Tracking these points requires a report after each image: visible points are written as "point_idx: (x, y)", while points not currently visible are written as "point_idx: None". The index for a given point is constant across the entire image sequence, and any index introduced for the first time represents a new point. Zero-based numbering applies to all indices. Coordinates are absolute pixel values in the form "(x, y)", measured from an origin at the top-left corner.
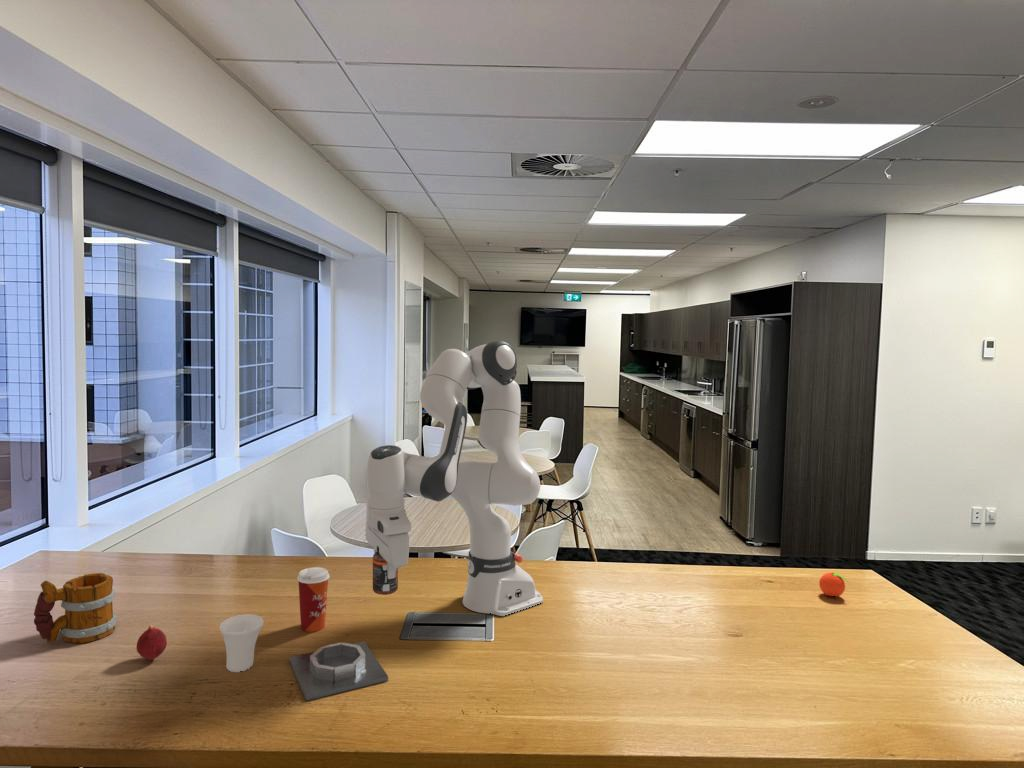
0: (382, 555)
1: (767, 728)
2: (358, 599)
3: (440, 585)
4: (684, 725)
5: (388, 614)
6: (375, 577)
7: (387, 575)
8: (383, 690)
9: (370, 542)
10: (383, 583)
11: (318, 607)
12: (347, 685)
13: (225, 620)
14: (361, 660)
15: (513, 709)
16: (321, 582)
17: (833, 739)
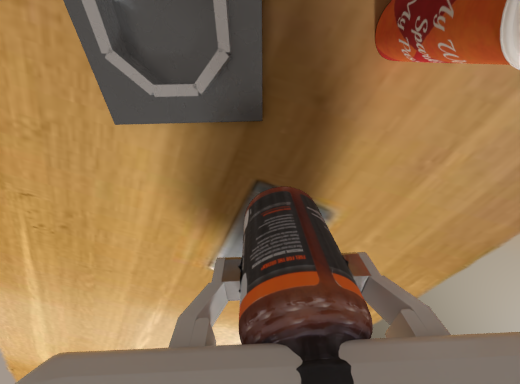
0: (223, 372)
1: (34, 348)
2: (434, 158)
3: (377, 263)
4: (30, 323)
5: (346, 187)
6: (273, 222)
7: (222, 265)
8: (85, 104)
9: (498, 362)
10: (247, 228)
11: (416, 20)
12: (76, 24)
13: None
14: (134, 80)
15: (41, 241)
16: (505, 7)
17: (25, 361)
